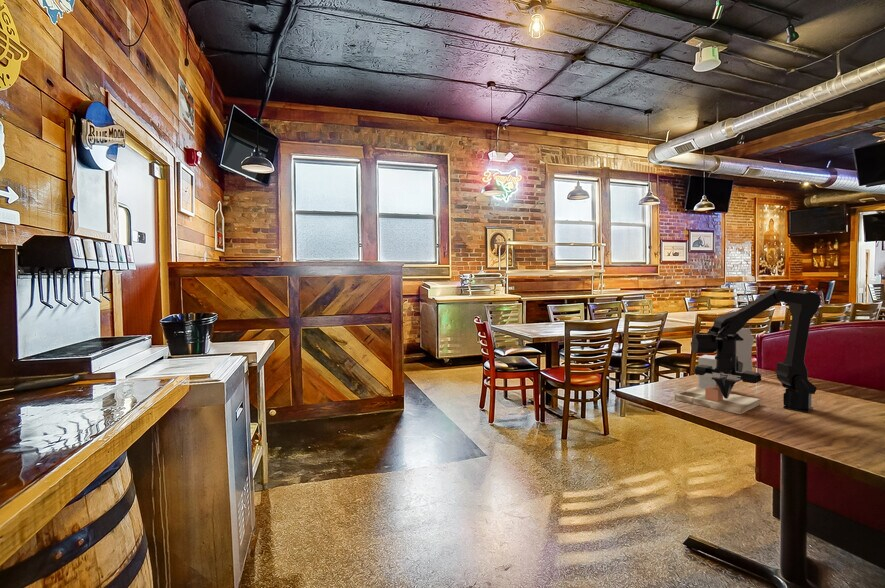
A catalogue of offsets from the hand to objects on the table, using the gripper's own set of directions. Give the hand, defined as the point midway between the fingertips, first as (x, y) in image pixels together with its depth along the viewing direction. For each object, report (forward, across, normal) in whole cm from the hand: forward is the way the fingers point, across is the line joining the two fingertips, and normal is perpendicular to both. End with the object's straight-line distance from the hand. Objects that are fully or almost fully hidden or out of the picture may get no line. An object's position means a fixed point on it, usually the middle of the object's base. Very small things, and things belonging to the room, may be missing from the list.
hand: (726, 398), depth 148 cm
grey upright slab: (+3, +14, -49) cm, 51 cm away
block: (+1, +4, 0) cm, 4 cm away
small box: (+3, +13, -20) cm, 25 cm away
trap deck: (+3, +4, -4) cm, 7 cm away
